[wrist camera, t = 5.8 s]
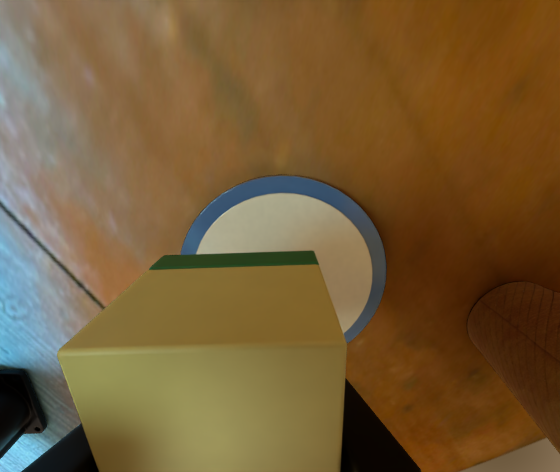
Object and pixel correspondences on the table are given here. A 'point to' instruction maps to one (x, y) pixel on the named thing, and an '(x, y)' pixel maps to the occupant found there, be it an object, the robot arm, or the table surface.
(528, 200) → the table surface
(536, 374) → the disposable coffee cup
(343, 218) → the plate
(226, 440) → the sponge
